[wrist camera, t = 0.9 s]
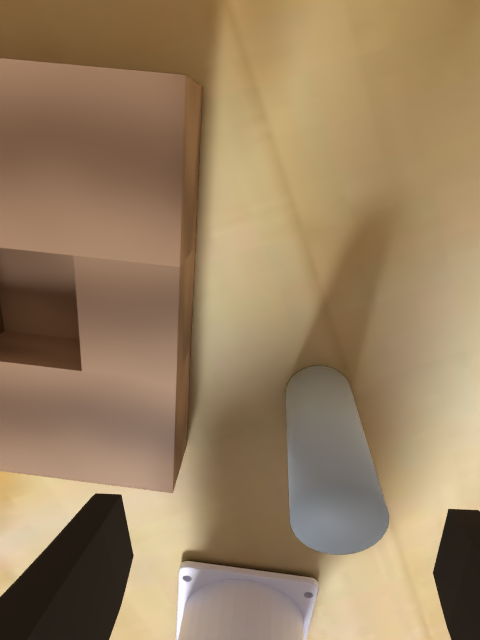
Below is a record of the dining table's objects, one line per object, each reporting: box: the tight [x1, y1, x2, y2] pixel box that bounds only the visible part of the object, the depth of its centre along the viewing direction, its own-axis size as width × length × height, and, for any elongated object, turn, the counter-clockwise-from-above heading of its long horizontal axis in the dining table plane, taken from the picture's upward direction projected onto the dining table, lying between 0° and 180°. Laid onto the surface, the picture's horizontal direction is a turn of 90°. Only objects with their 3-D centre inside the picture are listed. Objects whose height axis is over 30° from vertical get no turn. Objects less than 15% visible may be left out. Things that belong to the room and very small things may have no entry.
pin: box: [285, 366, 389, 555], centre depth 16 cm, size 3×3×7 cm
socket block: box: [0, 58, 203, 493], centre depth 17 cm, size 16×12×3 cm
